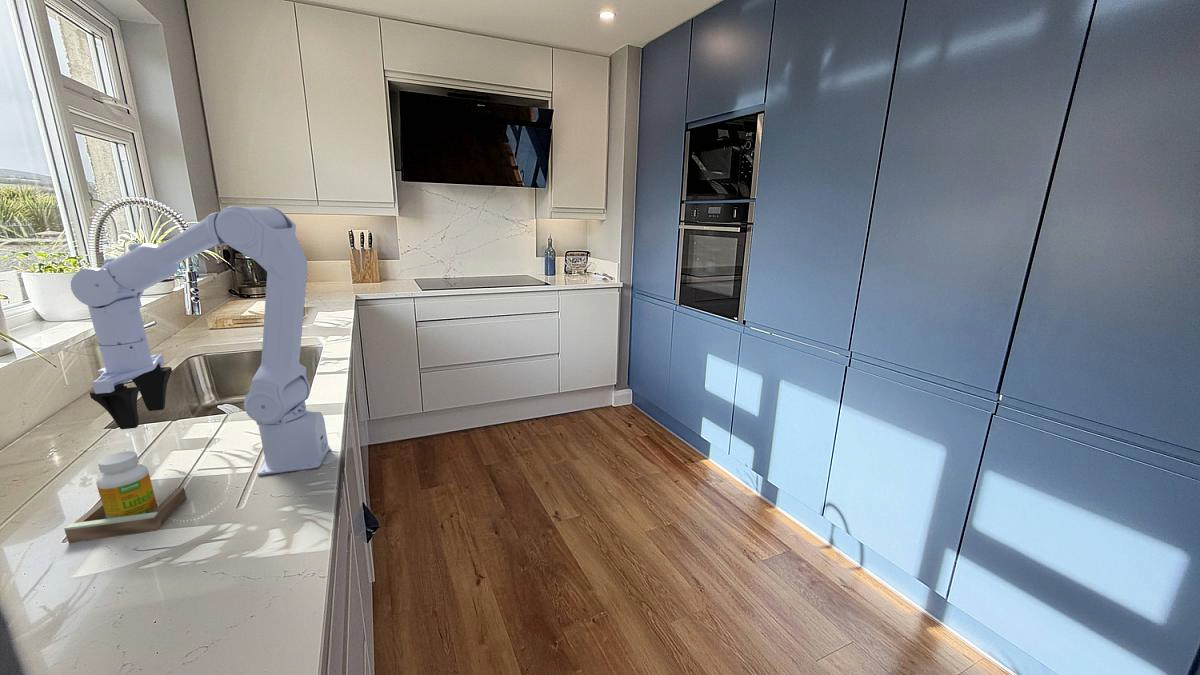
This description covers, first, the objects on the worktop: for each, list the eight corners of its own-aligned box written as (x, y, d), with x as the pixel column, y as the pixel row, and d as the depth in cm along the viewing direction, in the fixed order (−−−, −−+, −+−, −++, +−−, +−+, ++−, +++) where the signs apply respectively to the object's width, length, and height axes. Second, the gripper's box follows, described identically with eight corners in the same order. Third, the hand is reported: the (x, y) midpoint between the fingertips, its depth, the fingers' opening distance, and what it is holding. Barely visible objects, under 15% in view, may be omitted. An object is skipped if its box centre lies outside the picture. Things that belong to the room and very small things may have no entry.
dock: (186, 498, 76) (183, 485, 76) (157, 530, 69) (153, 515, 68) (108, 509, 74) (104, 495, 73) (68, 542, 66) (64, 528, 66)
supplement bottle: (128, 531, 69) (110, 469, 66) (98, 526, 70) (79, 465, 67) (168, 508, 74) (152, 450, 71) (139, 504, 75) (123, 447, 72)
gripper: (122, 332, 85) (141, 405, 89) (58, 355, 72) (83, 440, 75) (170, 329, 87) (187, 400, 90) (116, 351, 73) (139, 434, 77)
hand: (143, 418), depth 83 cm, fingers open, 7 cm apart
